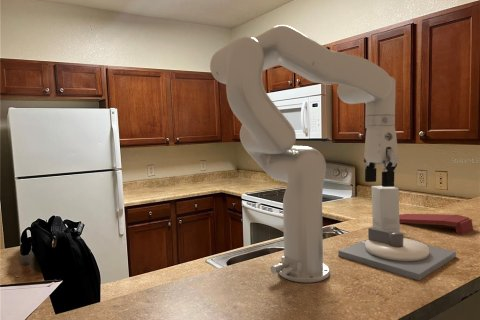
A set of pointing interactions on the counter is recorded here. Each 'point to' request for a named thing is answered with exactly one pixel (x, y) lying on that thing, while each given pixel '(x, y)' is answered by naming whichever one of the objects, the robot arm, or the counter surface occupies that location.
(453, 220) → the dark red ramp
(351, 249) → the dial plate
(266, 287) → the counter surface
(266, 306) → the counter surface
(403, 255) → the dial
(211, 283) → the counter surface
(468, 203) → the counter surface
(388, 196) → the skincare box
